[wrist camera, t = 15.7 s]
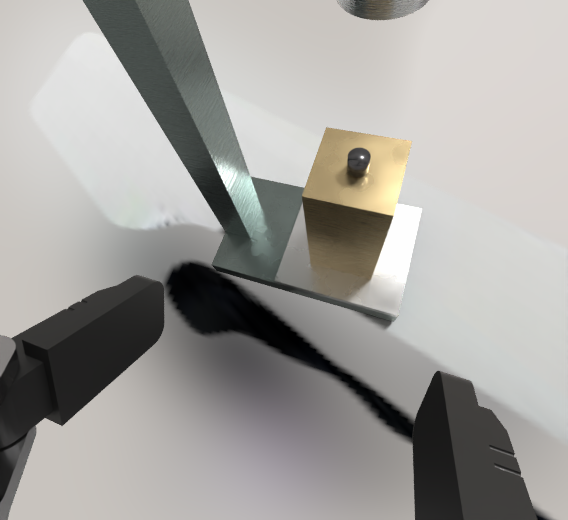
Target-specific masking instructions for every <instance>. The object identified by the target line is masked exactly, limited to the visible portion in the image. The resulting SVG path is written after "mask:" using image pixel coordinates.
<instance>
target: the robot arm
mask: <svg viewBox="0 0 568 520" xmlns="http://www.w3.org/2000/svg"><path fill="white" fill-rule="evenodd" d="M163 328H164V288H163V285H162V283H161V282H158V281H155V280H152V279H149V278H146V277H142V276H139V275H136V276H133V277H131V278H130V279H128V280H126V281H124V282H123V283H121V284H119V285H117V286H113V287H110V288H107V289H103V290H100V291H97V292H95V293H94V294H91V295H90V296H88V297H86V298H84V299H82V301H81V302H77V303H75V304H73V305H71V306H70V307H69V308H68V309H64V310H62V311H60V312H59V313H57V314H55V315H53V316H51V317H49V318H48V319H46V320H44V321H42V322H40V323H38V324H37V325H35V326H33V327H31V328H29V329H28V330H26V331H24V332H22V333H20V334H19V335H17V336H15V337H13V338H9V337H6V336H1V335H0V520H8V516H9V511H10V508H11V505H12V502H13V499H14V496H15V494H16V491H17V488H18V485H19V482H20V479H21V476H22V474H23V471H24V468H25V465H26V462H27V459H28V456H29V453H30V451H31V448H32V445H33V442H34V439H35V436H36V426H35V425H37V424H38V423H39V422H40V421H41V420H43V419H44V418H47V419H49V420H51V421H53V422H55V423H57V424H59V425H61V426H63V425H64V424H65V423H66V422H67V421H68V420H69V419H70V418H72V417H73V416H74V415H75V414H76V413H77V412H78V411H79V410H81V409H82V408H83V407H84V406H85V405H86V404H87V403H89V402H90V401H91V400H92V399H93V398H94V397H95V396H97V395H98V393H100V392H101V391H102V390H103V389H104V388H105V387H106V386H108V385H109V384H110V383H111V382H112V381H113V380H115V379H116V378H117V377H118V376H119V375H120V374H121V373H122V372H123V371H125V370H126V369H127V368H128V367H129V366H130V365H131V364H133V363H134V362H135V361H136V360H137V359H138V358H139V357H140V356H142V355H143V354H144V353H145V352H146V351H147V350H148V349H150V348H151V347H152V346H153V345H154V344H155V343H156V342H157V341H158V339H159V338H160V336H161V334H162V331H163ZM514 454H515V453H514V450H513V447H512V444H511V441H510V438H509V436H508V433H507V431H506V429H505V428H504V427H503V425H502V424H501V423H500V421H499V420H498V419H497V417H496V416H495V415H494V413H493V412H492V410H490V409H487V408H484V407H480V406H478V402H477V398H476V395H475V391H474V387H473V384H472V382H471V381H469V380H466V379H463V378H460V377H457V376H454V375H450V374H447V373H444V372H440V371H437V372H436V373H435V374H434V376H433V378H432V381H431V383H430V385H429V387H428V390H427V392H426V394H425V397H424V399H423V401H422V404H421V406H420V408H419V410H418V413H417V416H416V419H415V423H414V428H413V466H414V499H415V520H537V518H536V515H535V512H534V509H533V506H532V503H531V500H530V497H529V494H528V491H527V488H526V486H525V483H524V480H523V478H522V477H521V471H520V468H519V465H518V462H517V459H516V458H515V457H514Z"/></svg>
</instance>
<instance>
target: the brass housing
mask: <svg viewBox="0 0 568 520" xmlns="http://www.w3.org/2000/svg"><path fill="white" fill-rule="evenodd" d="M411 143H412V141H407V140H401V139H395V138H389V137H383V136H376V135H370V134H364V133H357V132H352V131H345V130H339V129H332V128H326V130H325V133H324V135H323V138H322V141H321V144H320V147H319V149H318V152H317V155H316V158H315V161H314V163H313V166H312V169H311V172H310V175H309V177H308V180H307V183H306V186H305V189H304V191H303V194H302V202H303V210H304V217H305V225H306V232H307V240H308V248H309V255H310V263H311V264H314V265H318V266H322V267H326V268H329V269H333V270H337V271H341V272H345V273H349V274H352V275H356V276H360V277H364V278H368V279H371V278H372V276H373V273H374V270H375V267H376V264H377V262H378V259H379V256H380V253H381V251H382V248H383V245H384V242H385V239H386V237H387V234H388V231H389V228H390V225H391V223H392V220H393V217H394V214H395V209H396V205H397V201H398V197H399V193H400V189H401V185H402V180H403V176H404V172H405V168H406V164H407V160H408V155H409V151H410V147H411Z"/></svg>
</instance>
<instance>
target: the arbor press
mask: <svg viewBox="0 0 568 520" xmlns="http://www.w3.org/2000/svg"><path fill="white" fill-rule="evenodd" d="M428 1H429V0H337V2H338V4H339V5H340V6H341V7H342V8H343V9H344V10H345V11H346V12H348V13H350V14H352V15H354V16H357V17H360V18H364V19H370V20H389V19H395V18H400V17H403V16H406V15H409V14H411V13H413V12H415V11H417V10H419V9H420V8H421V7H423V6H424V5H425V4H426V3H427V2H428ZM83 2H84V3H85V5H86V6H87V8H88V9H89V11H90V13H91V15H92V16H93V18H94V20H95V21H96V23H97V24H98V26H99V28H100V29H101V31H102V33H103V34H104V36H105V37H106V39H107V41H108V42H109V44H110V46H111V47H112V49H113V50H114V52H115V54H116V55H117V57H118V58H119V60H120V62H121V63H122V65H123V67H124V68H125V70H126V71H127V73H128V75H129V76H130V78H131V80H132V81H133V83H134V84H135V86H136V88H137V89H138V91H139V93H140V94H141V96H142V97H143V99H144V101H145V102H146V104H147V106H148V107H149V109H150V110H151V112H152V114H153V115H154V117H155V118H156V120H157V122H158V123H159V125H160V127H161V128H162V130H163V131H164V133H165V135H166V136H167V138H168V140H169V141H170V143H171V144H172V146H173V148H174V149H175V151H176V153H177V154H178V156H179V157H180V159H181V161H182V162H183V164H184V166H185V167H186V169H187V170H188V172H189V174H190V175H191V177H192V179H193V180H194V182H195V183H196V185H197V187H198V188H199V190H200V191H201V193H202V195H203V196H204V198H205V200H206V201H207V203H208V204H209V206H210V208H211V209H212V211H213V213H214V214H215V216H216V217H217V219H218V221H219V222H220V224H221V226H222V227H223V229H224V230H225V232H226V233H225V235H224V237H223V240H222V242H221V244H220V247H219V249H218V251H217V254H216V256H215V258H214V261H213V263H212V266H213V267H214V268H215V269H216V270H217V271H220V272H223V273H226V274H230V275H233V276H237V277H240V278H244V279H247V280H251V281H254V282H258V283H261V284H265V285H268V286H271V287H275V288H278V289H282V290H285V291H289V292H292V293H296V294H299V295H303V296H306V297H310V298H313V299H317V300H320V301H323V302H327V303H330V304H334V305H337V306H341V307H344V308H348V309H351V310H355V311H358V312H362V313H365V314H368V315H372V316H375V317H379V318H382V319H386V320H389V321H393V322H394V321H395V319H396V318H397V317H398V316H399V311H400V306H401V302H402V297H403V293H404V288H405V283H406V279H407V274H408V269H409V265H410V260H411V256H412V251H413V246H414V242H415V237H416V233H417V228H418V223H419V219H420V214H421V208H416V207H411V206H406V205H401V204H397V205H396V209H395V214H394V217H393V220H392V223H391V225H390V228H389V231H388V234H387V237H386V239H385V242H384V245H383V248H382V251H381V253H380V256H379V259H378V262H377V264H376V267H375V270H374V273H373V276H372V278H371V279H368V278H364V277H360V276H356V275H352V274H349V273H345V272H341V271H337V270H333V269H329V268H326V267H322V266H318V265H314V264H311V263H310V255H309V248H308V240H307V232H306V225H305V217H304V210H303V202H302V194H303V191H304V189H305V188H302V187H297V186H292V185H288V184H283V183H278V182H274V181H269V180H264V179H259V178H255V177H250V174H249V172H248V169H247V166H246V163H245V160H244V157H243V154H242V152H241V149H240V146H239V143H238V140H237V137H236V134H235V132H234V129H233V126H232V123H231V120H230V117H229V115H228V112H227V109H226V106H225V103H224V100H223V97H222V95H221V92H220V89H219V86H218V83H217V81H216V78H215V75H214V72H213V69H212V66H211V63H210V60H209V58H208V55H207V52H206V49H205V46H204V43H203V41H202V38H201V35H200V32H199V29H198V26H197V23H196V21H195V18H194V15H193V12H192V9H191V7H190V3H189V1H188V0H83Z"/></svg>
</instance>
